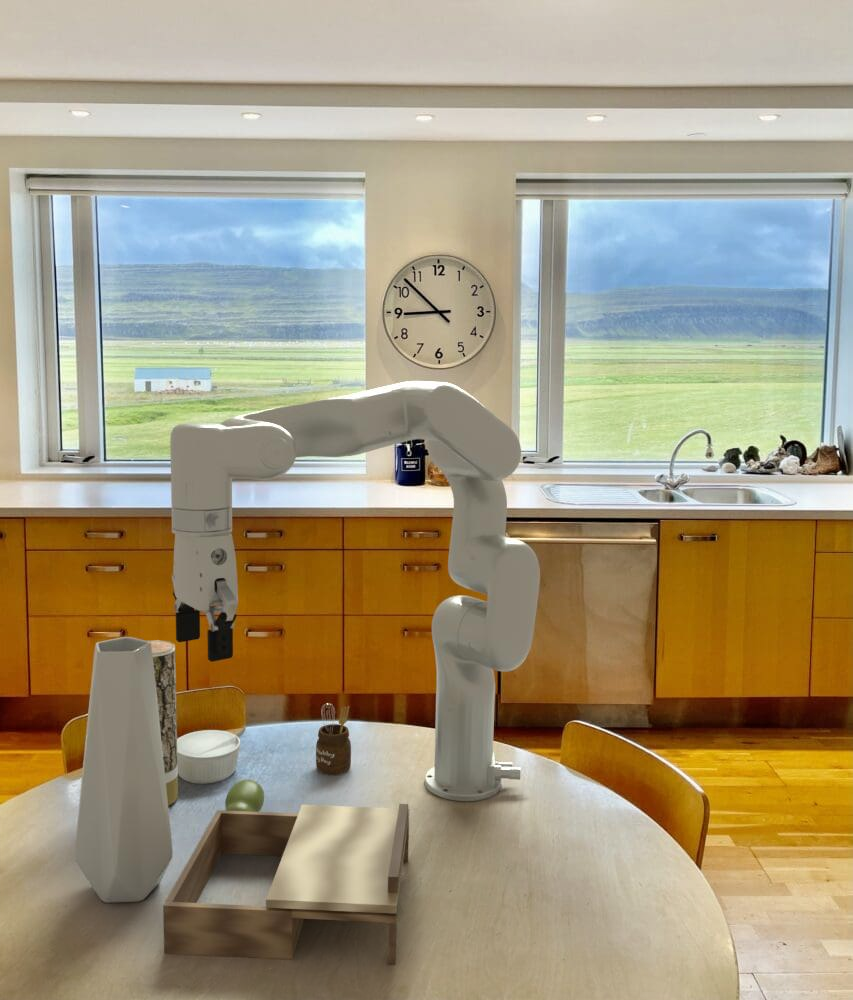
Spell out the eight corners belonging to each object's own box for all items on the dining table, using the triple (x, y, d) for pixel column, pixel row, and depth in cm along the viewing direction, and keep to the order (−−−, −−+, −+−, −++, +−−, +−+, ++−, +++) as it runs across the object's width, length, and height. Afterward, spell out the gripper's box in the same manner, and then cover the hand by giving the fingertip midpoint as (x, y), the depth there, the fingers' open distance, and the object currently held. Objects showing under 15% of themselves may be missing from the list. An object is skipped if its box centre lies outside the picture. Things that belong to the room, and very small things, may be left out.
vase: (74, 873, 123) (65, 636, 118) (163, 857, 127) (158, 627, 122) (78, 925, 112) (68, 665, 107) (176, 904, 116) (171, 654, 111)
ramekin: (232, 788, 148) (232, 757, 148) (164, 786, 149) (163, 756, 148) (247, 759, 160) (246, 730, 159) (183, 757, 160) (182, 728, 159)
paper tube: (165, 814, 139) (161, 655, 136) (124, 808, 141) (120, 651, 137) (185, 793, 146) (182, 642, 142) (146, 789, 147) (142, 638, 144)
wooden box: (408, 858, 128) (409, 818, 127) (395, 964, 106) (396, 916, 105) (217, 850, 130) (217, 810, 129) (164, 953, 107) (163, 905, 106)
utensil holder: (336, 758, 160) (337, 692, 159) (359, 770, 156) (359, 702, 154) (308, 767, 156) (309, 700, 155) (331, 780, 152) (331, 711, 150)
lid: (409, 815, 127) (409, 795, 127) (396, 913, 105) (396, 889, 104) (302, 811, 128) (302, 791, 128) (266, 907, 105) (265, 883, 105)
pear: (268, 774, 141) (251, 815, 132) (269, 803, 143) (253, 845, 133) (232, 771, 142) (213, 812, 132) (233, 801, 143) (215, 843, 134)
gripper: (260, 527, 113) (261, 661, 115) (200, 508, 126) (202, 629, 129) (203, 533, 108) (205, 673, 111) (147, 513, 122) (150, 638, 124)
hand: (203, 649), depth 120 cm, fingers open, 9 cm apart
